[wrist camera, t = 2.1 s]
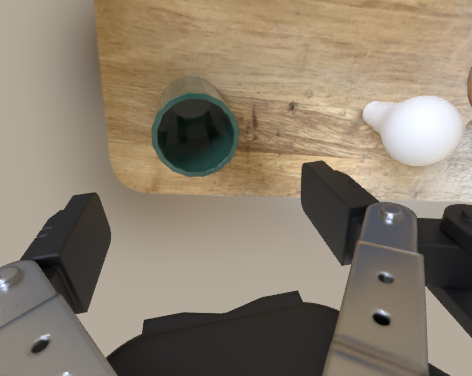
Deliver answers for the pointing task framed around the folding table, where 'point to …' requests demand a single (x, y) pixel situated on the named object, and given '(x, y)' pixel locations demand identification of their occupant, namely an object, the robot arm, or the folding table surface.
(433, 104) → the lightbulb
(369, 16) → the folding table surface
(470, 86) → the mug
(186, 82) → the cup
